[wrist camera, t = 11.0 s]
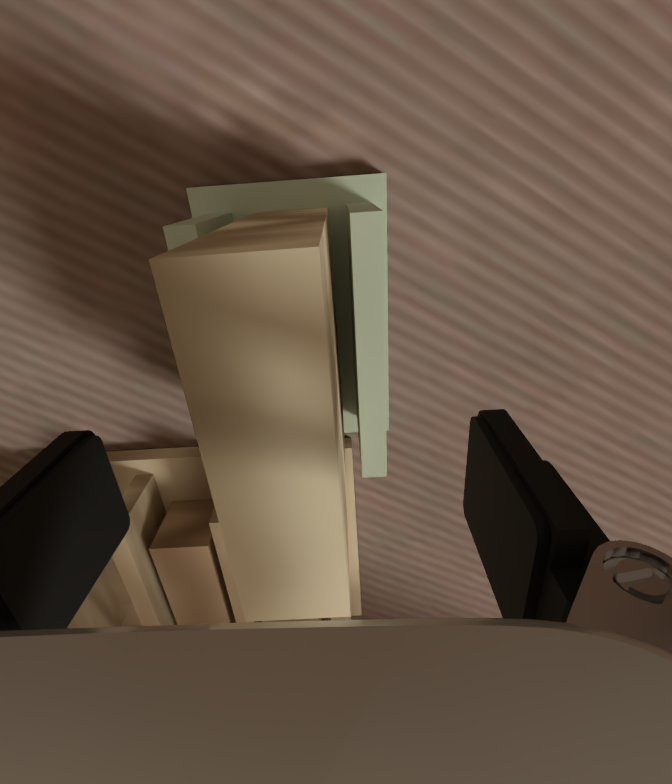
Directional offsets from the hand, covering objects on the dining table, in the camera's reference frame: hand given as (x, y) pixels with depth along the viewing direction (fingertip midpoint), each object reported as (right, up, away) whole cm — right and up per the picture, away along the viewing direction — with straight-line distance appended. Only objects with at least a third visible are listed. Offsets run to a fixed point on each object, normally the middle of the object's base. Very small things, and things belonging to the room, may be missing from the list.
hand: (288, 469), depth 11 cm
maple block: (0, +5, +9) cm, 10 cm away
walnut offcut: (-6, -8, +15) cm, 18 cm away
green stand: (0, +5, +10) cm, 11 cm away
